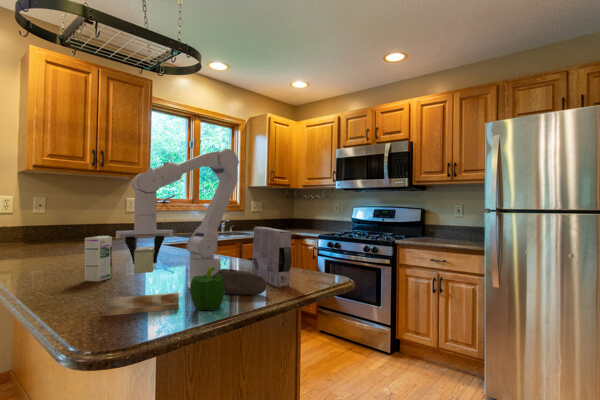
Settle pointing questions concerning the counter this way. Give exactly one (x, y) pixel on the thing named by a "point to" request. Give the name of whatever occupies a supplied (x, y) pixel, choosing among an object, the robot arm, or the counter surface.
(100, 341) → the counter surface
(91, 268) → the syrup box
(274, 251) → the cake pan box
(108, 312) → the shelf board
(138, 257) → the tea tin
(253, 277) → the perforated stone tool
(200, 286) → the bell pepper
